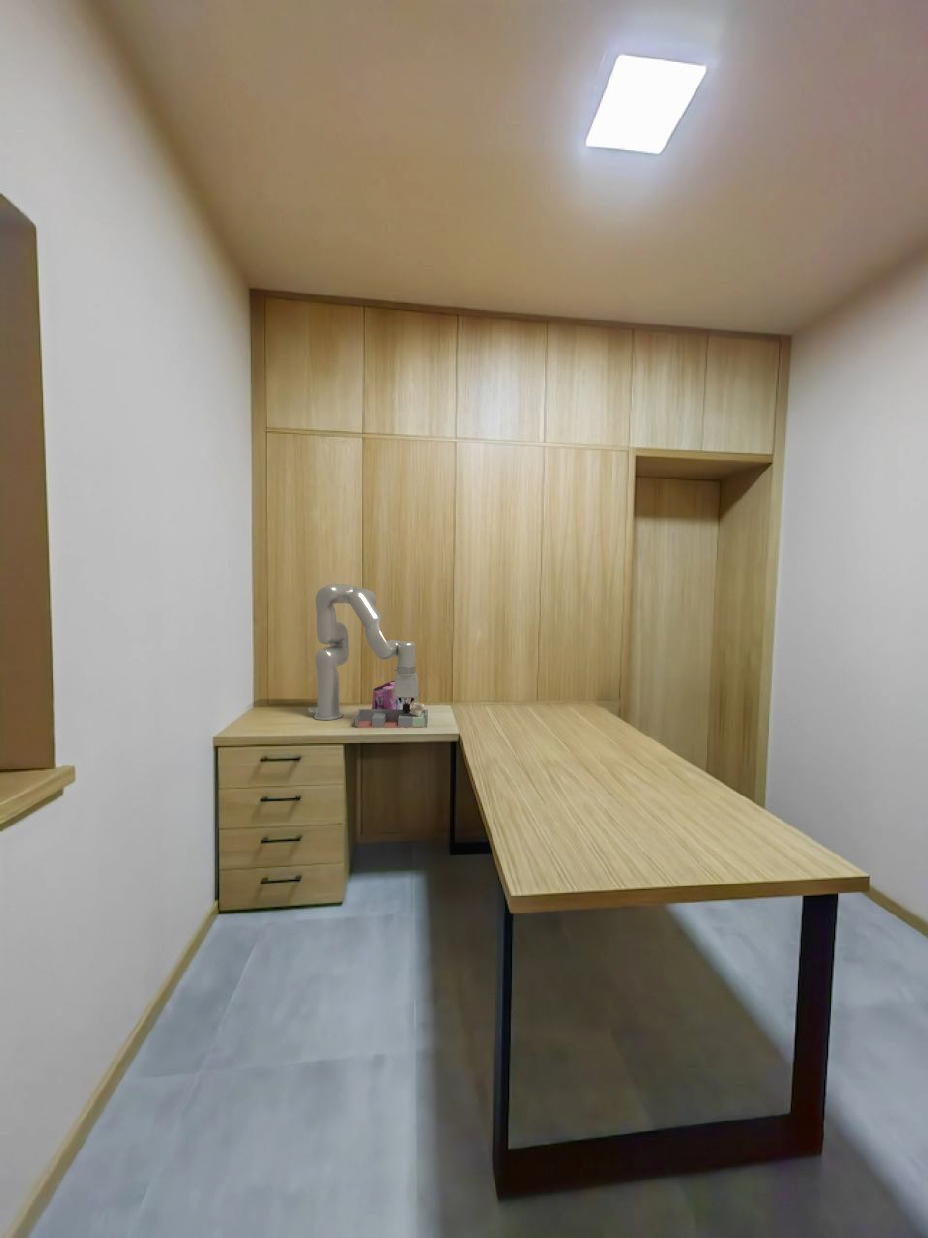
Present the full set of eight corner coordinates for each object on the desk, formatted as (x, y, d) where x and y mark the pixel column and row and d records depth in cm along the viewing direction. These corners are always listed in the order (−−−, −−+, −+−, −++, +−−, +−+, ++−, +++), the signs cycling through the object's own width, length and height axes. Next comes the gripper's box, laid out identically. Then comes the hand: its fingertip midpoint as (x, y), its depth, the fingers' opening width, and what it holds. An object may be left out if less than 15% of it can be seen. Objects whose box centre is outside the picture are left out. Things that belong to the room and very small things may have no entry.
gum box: (386, 721, 215) (386, 691, 214) (370, 720, 217) (370, 689, 216) (407, 708, 238) (407, 681, 237) (392, 707, 240) (392, 680, 239)
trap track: (355, 727, 205) (355, 714, 204) (359, 721, 214) (359, 709, 213) (426, 727, 206) (427, 714, 206) (427, 721, 215) (427, 709, 215)
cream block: (409, 712, 207) (413, 703, 207) (410, 709, 212) (414, 700, 211) (419, 717, 208) (423, 707, 207) (420, 713, 212) (424, 704, 212)
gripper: (387, 671, 204) (387, 715, 206) (423, 672, 205) (423, 715, 206) (390, 668, 212) (389, 710, 213) (424, 669, 212) (424, 710, 214)
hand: (406, 712), depth 210 cm, fingers closed
